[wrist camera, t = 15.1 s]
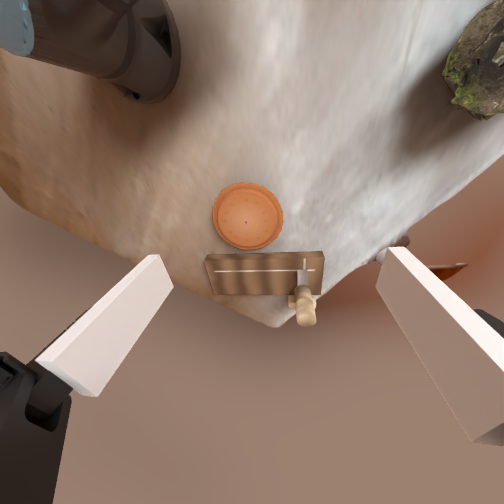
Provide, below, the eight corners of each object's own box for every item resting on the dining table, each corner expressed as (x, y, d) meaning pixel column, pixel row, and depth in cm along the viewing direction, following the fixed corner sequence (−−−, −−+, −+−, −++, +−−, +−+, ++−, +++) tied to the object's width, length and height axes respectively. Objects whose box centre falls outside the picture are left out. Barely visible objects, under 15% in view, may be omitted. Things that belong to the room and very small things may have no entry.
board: (217, 287, 57) (214, 294, 55) (207, 254, 51) (203, 261, 48) (318, 287, 52) (320, 295, 50) (322, 251, 46) (324, 258, 43)
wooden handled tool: (288, 294, 54) (290, 336, 43) (287, 262, 48) (289, 302, 37) (312, 294, 53) (321, 337, 42) (315, 262, 47) (326, 302, 36)
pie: (203, 202, 43) (195, 209, 39) (260, 163, 37) (257, 167, 33) (240, 251, 49) (236, 262, 45) (294, 225, 43) (296, 235, 39)
